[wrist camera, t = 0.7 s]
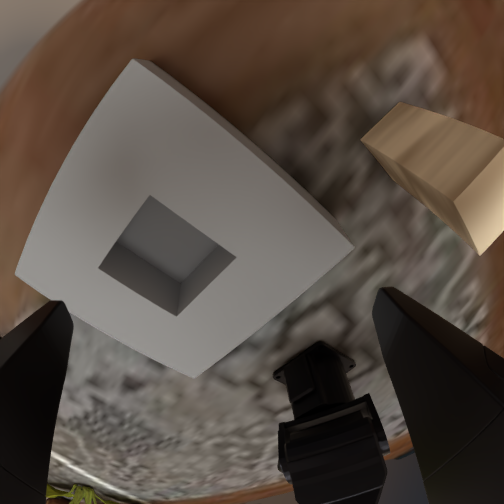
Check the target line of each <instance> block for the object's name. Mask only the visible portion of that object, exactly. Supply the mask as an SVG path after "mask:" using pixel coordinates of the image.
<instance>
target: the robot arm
mask: <svg viewBox="0 0 504 504" xmlns="http://www.w3.org/2000/svg"><path fill="white" fill-rule="evenodd" d="M372 317H373V321H374V324H375V328H376V332H377V335H378V339H379V343H380V347H381V351H382V355H383V358H384V361H385V364H386V367H387V370H388V373H389V375H390V378H391V381H392V384H393V387H394V389H395V392H396V395H397V398H398V401H399V404H400V407H401V410H402V413H403V416H404V419H405V422H406V425H407V428H408V431H409V434H410V437H411V441H412V444H413V447H414V450H415V453H416V457H417V461H418V464H419V467H420V471H421V475H422V478H423V481H424V482H423V483H424V486H425V490H426V494H427V498H428V502H429V504H504V358H502V357H501V356H499V355H498V354H496V353H495V352H493V351H492V350H490V349H489V348H487V347H486V346H483V344H481V343H480V342H478V341H477V340H475V339H474V338H472V337H471V336H469V335H468V334H466V333H465V332H463V331H462V330H460V329H459V328H457V327H456V326H454V325H453V324H451V323H450V322H448V321H446V320H445V319H443V318H442V317H440V316H439V315H437V314H436V313H434V312H432V311H431V310H429V309H428V308H426V307H425V306H423V305H421V304H420V303H418V302H417V301H415V300H414V299H412V298H410V297H409V296H407V295H406V294H404V293H402V292H401V291H399V290H398V289H396V288H394V287H382V288H380V289H379V290H378V292H377V296H376V299H375V303H374V306H373V310H372ZM72 334H73V321H72V319H71V316H70V314H69V312H68V309H67V307H66V304H65V303H64V302H63V301H62V300H51V301H49V302H48V303H46V304H45V305H44V306H42V307H41V308H40V309H38V310H37V311H36V312H34V313H33V314H32V315H31V316H29V317H28V318H27V319H25V320H24V321H23V322H22V323H20V324H19V325H18V326H16V327H15V328H14V329H13V330H11V331H10V332H9V333H8V334H6V335H5V336H4V337H3V338H2V339H0V504H46V491H47V481H48V471H49V463H50V456H51V449H52V442H53V436H54V430H55V424H56V419H57V414H58V409H59V404H60V399H61V394H62V390H63V385H64V381H65V377H66V372H67V366H68V359H69V352H70V346H71V340H72ZM355 366H356V364H355V361H353V360H352V359H350V358H348V357H347V356H345V355H343V354H342V353H340V352H339V351H337V350H335V349H334V348H332V347H330V346H329V345H327V344H325V343H324V342H318V343H316V344H314V345H313V346H312V347H310V348H309V349H308V350H306V351H305V352H303V353H302V354H301V355H299V356H298V357H296V358H295V359H294V360H292V361H291V362H289V363H288V364H286V365H285V366H283V367H282V368H281V369H279V370H278V371H276V372H275V373H274V374H273V378H274V379H275V380H277V381H279V382H281V383H283V384H286V386H287V391H288V397H289V401H290V403H291V405H292V410H293V415H294V420H292V421H289V422H282V423H279V431H278V452H279V459H278V470H279V471H280V472H282V473H283V474H284V476H285V478H286V480H287V481H288V483H289V484H293V488H294V493H295V498H296V501H297V502H298V503H299V504H378V502H379V499H380V495H381V492H382V489H383V486H384V483H385V479H386V476H387V468H386V464H385V461H384V458H383V456H385V455H387V454H390V449H389V445H388V441H387V438H386V435H385V432H384V429H383V426H382V423H381V421H380V418H379V416H378V413H377V411H376V409H375V406H374V404H373V401H372V399H371V396H370V394H369V393H368V394H365V395H364V396H363V397H360V398H358V399H355V398H354V395H353V392H352V389H351V386H350V383H349V381H348V378H347V375H346V373H347V372H348V371H350V370H351V369H353V368H354V367H355Z"/></svg>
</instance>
